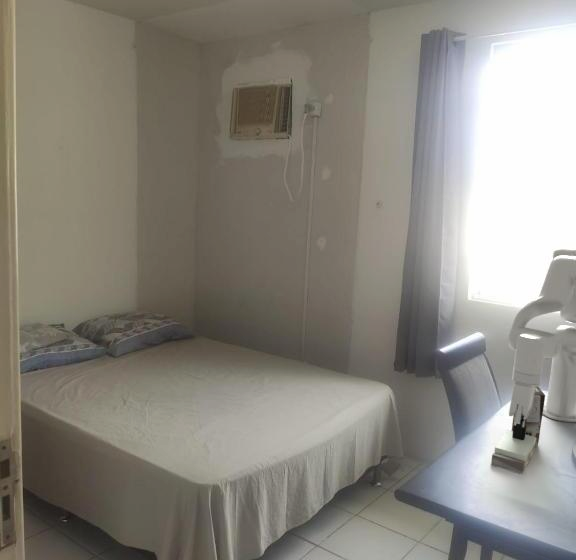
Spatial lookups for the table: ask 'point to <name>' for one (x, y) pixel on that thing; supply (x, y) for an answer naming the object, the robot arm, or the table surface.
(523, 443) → the pale green tile
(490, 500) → the table surface
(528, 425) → the coffee box
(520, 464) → the grayish brown block
